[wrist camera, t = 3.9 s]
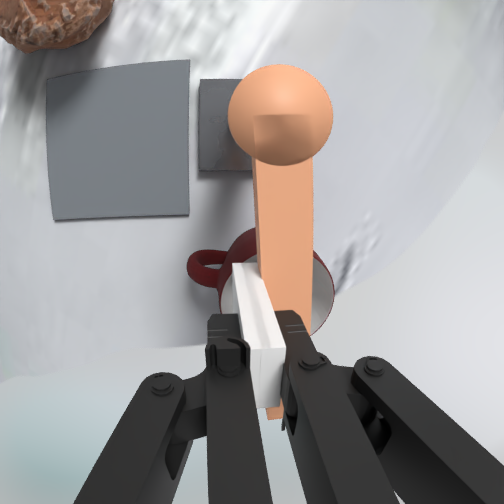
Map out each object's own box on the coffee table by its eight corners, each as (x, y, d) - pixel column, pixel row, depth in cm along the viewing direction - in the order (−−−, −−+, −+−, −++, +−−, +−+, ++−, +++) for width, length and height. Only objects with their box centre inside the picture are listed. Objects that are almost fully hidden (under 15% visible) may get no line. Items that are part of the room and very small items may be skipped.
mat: (55, 218, 27) (53, 219, 27) (49, 80, 22) (47, 79, 22) (189, 213, 29) (189, 214, 28) (190, 60, 24) (189, 59, 23)
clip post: (199, 169, 27) (181, 206, 14) (200, 81, 25) (183, 31, 11) (289, 169, 28) (352, 206, 15) (292, 83, 25) (359, 45, 12)
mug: (194, 289, 32) (187, 352, 22) (190, 210, 29) (177, 248, 19) (298, 286, 33) (327, 345, 23) (304, 209, 30) (342, 245, 21)
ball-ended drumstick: (247, 388, 20) (253, 427, 17) (224, 80, 14) (225, 66, 10) (305, 381, 21) (318, 418, 17) (306, 79, 14) (330, 66, 11)
